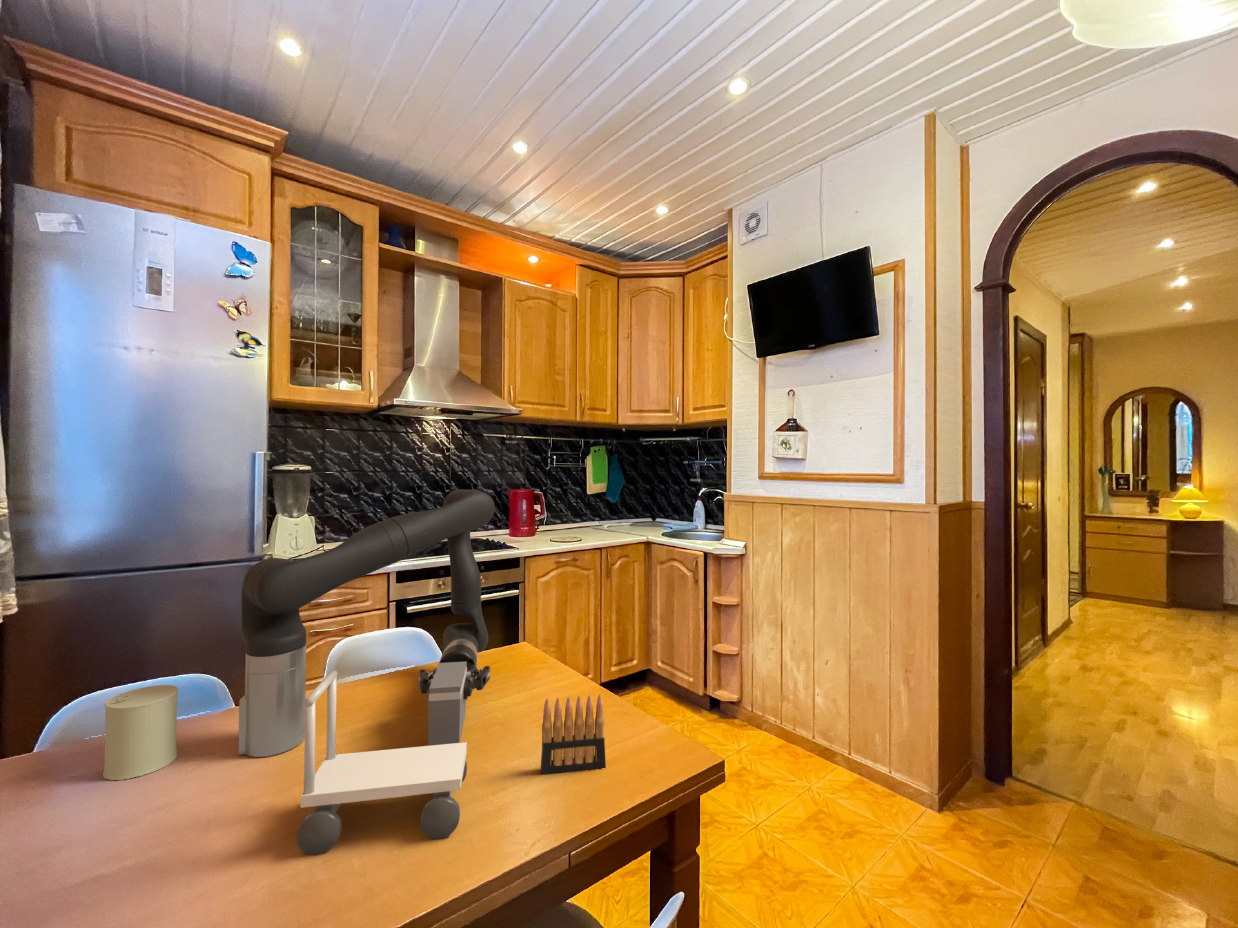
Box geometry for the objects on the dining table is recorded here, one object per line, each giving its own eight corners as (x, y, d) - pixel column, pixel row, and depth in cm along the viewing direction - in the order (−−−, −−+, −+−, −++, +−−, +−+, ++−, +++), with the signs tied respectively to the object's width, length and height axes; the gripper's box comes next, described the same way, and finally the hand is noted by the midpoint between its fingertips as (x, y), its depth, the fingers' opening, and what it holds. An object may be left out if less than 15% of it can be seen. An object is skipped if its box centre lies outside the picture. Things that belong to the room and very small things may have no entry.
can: (101, 765, 87) (102, 693, 87) (173, 744, 94) (174, 677, 94) (104, 788, 81) (106, 710, 81) (181, 763, 88) (182, 692, 88)
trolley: (296, 856, 67) (298, 702, 67) (329, 797, 79) (331, 667, 79) (459, 836, 71) (460, 690, 71) (467, 782, 83) (468, 658, 83)
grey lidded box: (427, 749, 87) (428, 688, 87) (437, 715, 99) (438, 662, 99) (459, 746, 88) (460, 686, 88) (465, 713, 100) (466, 661, 100)
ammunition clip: (604, 762, 89) (604, 691, 89) (605, 768, 87) (606, 696, 87) (540, 768, 87) (541, 696, 87) (541, 775, 85) (541, 701, 85)
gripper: (423, 645, 109) (407, 676, 92) (493, 642, 112) (490, 671, 95) (422, 681, 109) (406, 719, 92) (493, 677, 112) (489, 713, 95)
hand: (449, 694), depth 94 cm, fingers closed on grey lidded box, 5 cm apart
